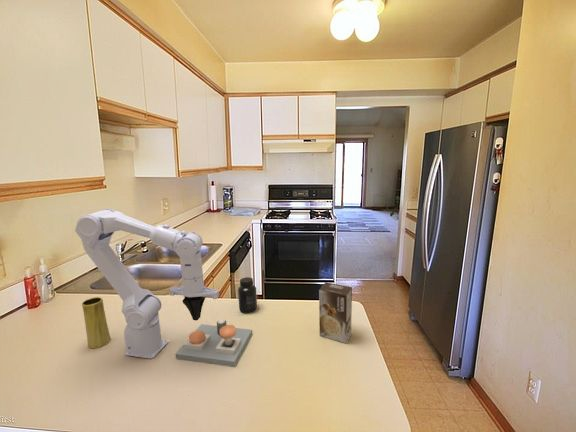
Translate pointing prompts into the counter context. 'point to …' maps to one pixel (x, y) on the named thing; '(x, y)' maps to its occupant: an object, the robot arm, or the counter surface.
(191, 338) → the knob
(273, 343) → the counter surface
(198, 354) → the mount board
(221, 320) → the white domed button
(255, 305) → the supplement bottle
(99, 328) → the vase
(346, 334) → the coffee box
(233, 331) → the knob
